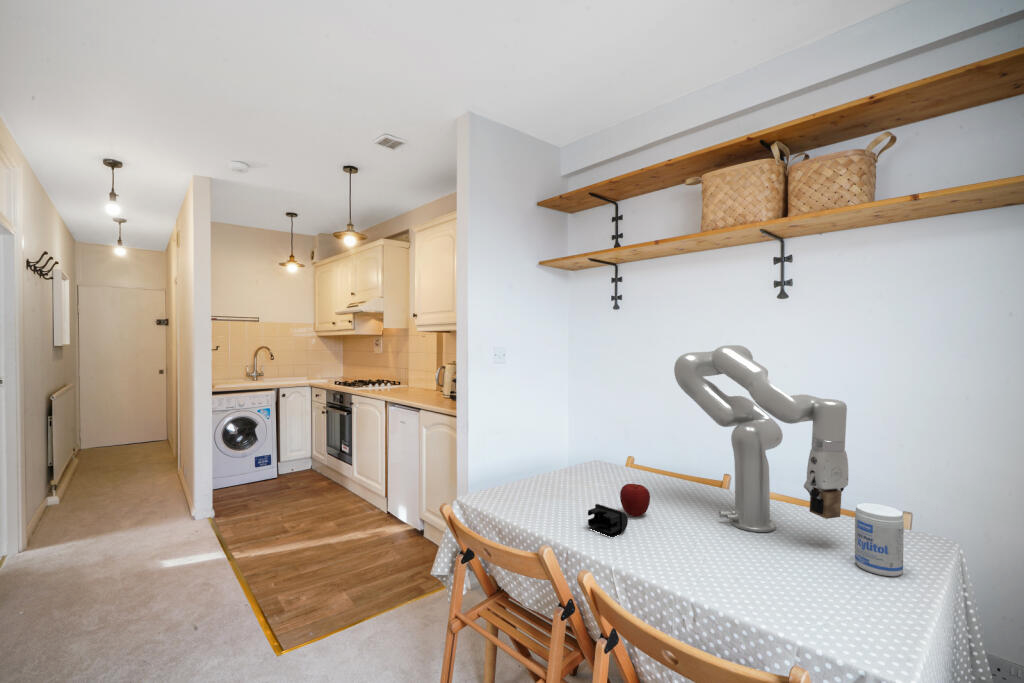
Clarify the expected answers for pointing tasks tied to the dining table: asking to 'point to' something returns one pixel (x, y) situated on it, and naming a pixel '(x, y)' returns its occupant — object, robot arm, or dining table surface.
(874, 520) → the supplement tub
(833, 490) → the walnut block
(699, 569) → the dining table surface
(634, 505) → the apple
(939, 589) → the dining table surface
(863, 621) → the dining table surface
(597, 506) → the end cap
